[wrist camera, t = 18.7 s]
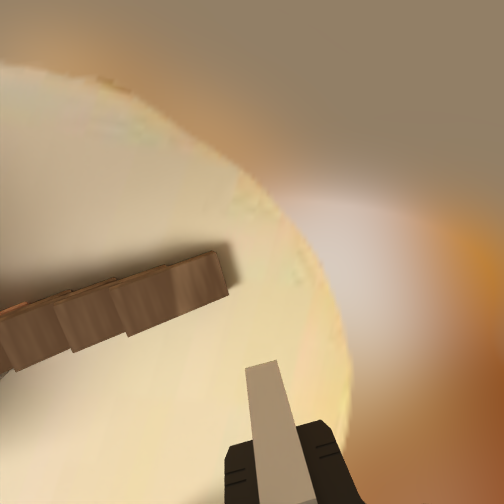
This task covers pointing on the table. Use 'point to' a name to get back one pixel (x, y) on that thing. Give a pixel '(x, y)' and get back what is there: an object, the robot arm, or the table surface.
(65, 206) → the table surface
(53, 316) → the walnut tile
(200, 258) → the walnut tile
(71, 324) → the walnut tile
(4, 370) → the walnut tile
